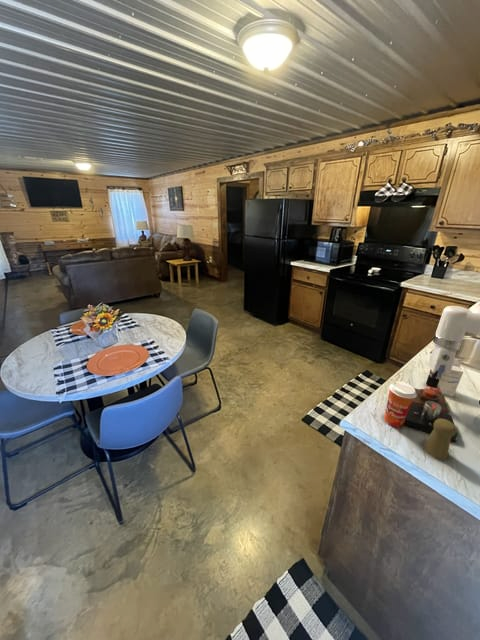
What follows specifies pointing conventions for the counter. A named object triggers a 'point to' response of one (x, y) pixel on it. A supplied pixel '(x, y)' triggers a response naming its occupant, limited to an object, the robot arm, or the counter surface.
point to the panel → (424, 421)
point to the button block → (437, 399)
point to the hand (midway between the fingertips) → (431, 385)
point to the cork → (440, 439)
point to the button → (429, 393)
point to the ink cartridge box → (450, 380)
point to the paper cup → (399, 403)
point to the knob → (431, 411)
